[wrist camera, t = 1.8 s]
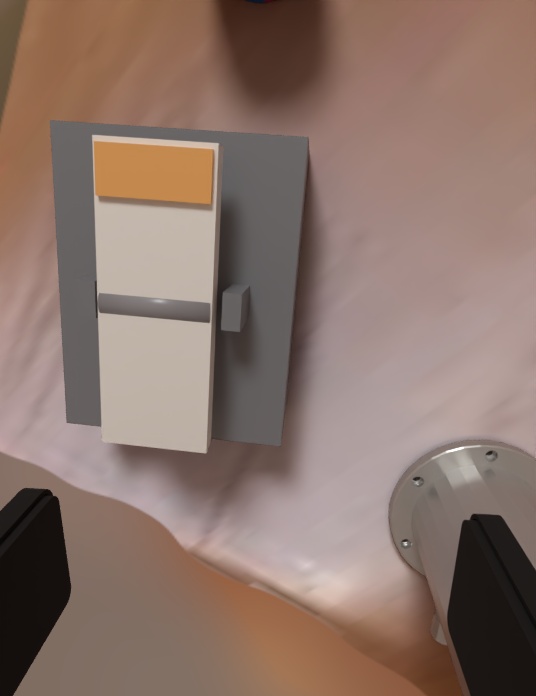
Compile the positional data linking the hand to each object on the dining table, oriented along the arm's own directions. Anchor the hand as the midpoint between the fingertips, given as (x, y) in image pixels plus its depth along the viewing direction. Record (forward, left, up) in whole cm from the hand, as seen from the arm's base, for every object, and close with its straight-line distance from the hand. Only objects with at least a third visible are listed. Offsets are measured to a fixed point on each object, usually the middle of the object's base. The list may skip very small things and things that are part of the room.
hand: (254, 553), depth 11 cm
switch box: (+2, +7, -24) cm, 25 cm away
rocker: (+2, +7, -15) cm, 16 cm away
